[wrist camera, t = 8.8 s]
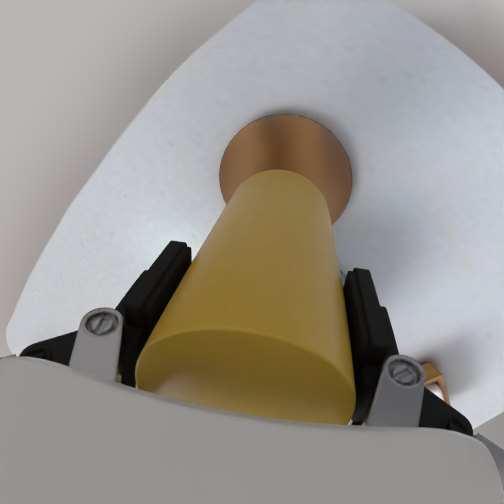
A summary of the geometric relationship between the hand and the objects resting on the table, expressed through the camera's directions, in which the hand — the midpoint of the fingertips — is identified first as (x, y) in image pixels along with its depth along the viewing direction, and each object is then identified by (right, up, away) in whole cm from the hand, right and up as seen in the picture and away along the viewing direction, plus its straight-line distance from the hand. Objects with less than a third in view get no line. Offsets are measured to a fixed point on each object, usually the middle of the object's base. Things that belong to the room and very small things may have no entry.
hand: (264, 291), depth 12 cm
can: (+1, +3, +6) cm, 7 cm away
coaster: (+2, +7, +12) cm, 14 cm away
